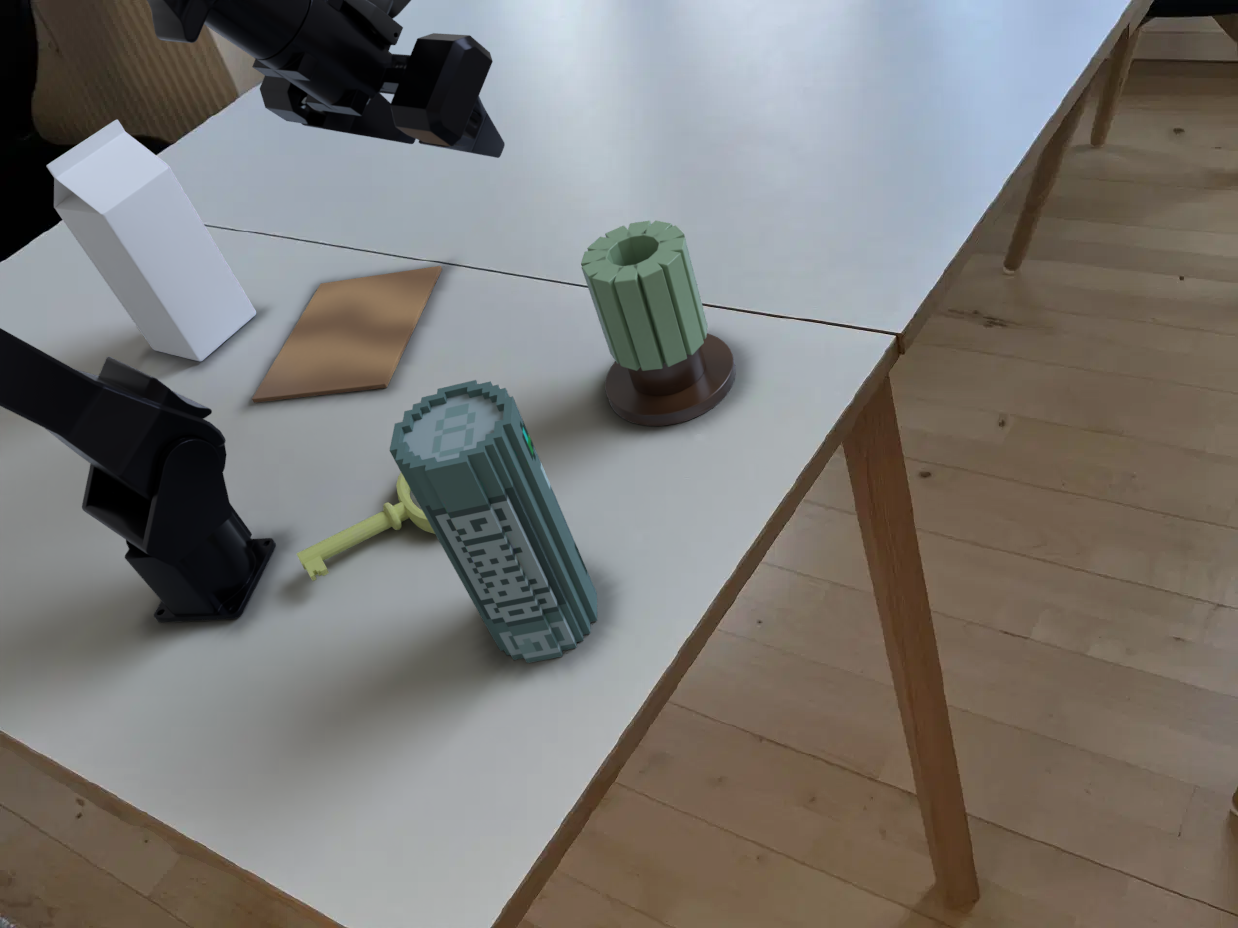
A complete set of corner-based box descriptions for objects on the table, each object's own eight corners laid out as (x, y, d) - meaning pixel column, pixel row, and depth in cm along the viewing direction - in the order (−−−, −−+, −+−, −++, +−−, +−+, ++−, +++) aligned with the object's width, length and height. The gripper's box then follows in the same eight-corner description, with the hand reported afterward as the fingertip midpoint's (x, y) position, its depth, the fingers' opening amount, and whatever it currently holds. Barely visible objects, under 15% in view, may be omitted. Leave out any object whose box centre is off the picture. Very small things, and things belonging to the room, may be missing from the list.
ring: (702, 364, 68) (677, 273, 63) (603, 375, 70) (572, 288, 65) (711, 303, 72) (689, 214, 68) (618, 315, 74) (591, 229, 70)
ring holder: (730, 419, 69) (702, 307, 63) (598, 432, 72) (559, 325, 66) (740, 334, 75) (715, 225, 70) (619, 348, 78) (584, 244, 72)
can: (596, 567, 63) (514, 370, 53) (597, 649, 58) (508, 451, 48) (498, 586, 64) (399, 397, 54) (492, 669, 59) (383, 479, 49)
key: (299, 580, 69) (284, 558, 67) (435, 459, 74) (423, 437, 73) (365, 624, 64) (351, 602, 63) (504, 492, 70) (493, 469, 68)
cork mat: (387, 387, 82) (384, 383, 82) (253, 403, 86) (251, 399, 85) (442, 269, 93) (440, 265, 93) (322, 286, 97) (320, 283, 97)
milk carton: (258, 314, 96) (142, 120, 84) (201, 364, 92) (71, 168, 80) (210, 305, 100) (92, 118, 88) (154, 352, 96) (22, 163, 84)
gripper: (432, -117, 57) (596, 45, 70) (245, -103, 69) (415, 34, 81) (354, 73, 57) (533, 202, 70) (178, 55, 68) (359, 169, 81)
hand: (456, 144), depth 75 cm, fingers open, 9 cm apart
